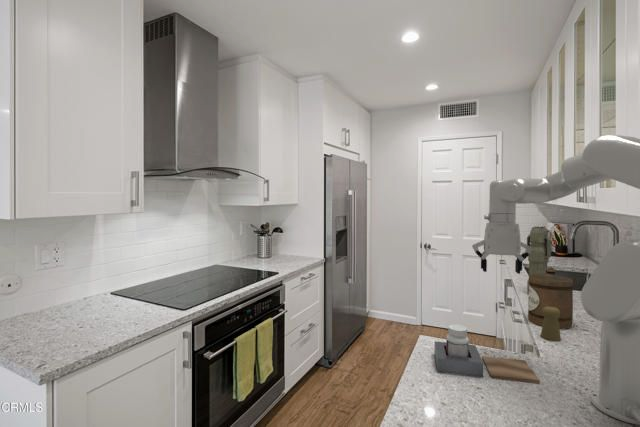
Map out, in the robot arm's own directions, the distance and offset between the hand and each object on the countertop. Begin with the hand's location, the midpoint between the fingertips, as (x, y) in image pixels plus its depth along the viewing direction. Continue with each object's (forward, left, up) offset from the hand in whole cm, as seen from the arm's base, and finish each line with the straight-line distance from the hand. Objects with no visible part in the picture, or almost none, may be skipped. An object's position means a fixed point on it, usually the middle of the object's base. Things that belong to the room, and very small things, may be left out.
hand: (500, 271), depth 111 cm
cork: (+16, -20, -26) cm, 37 cm away
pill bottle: (-13, +15, -26) cm, 33 cm away
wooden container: (+33, -26, -26) cm, 50 cm away
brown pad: (-13, +1, -26) cm, 29 cm away
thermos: (+76, -36, -26) cm, 88 cm away
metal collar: (-13, +15, -26) cm, 33 cm away
